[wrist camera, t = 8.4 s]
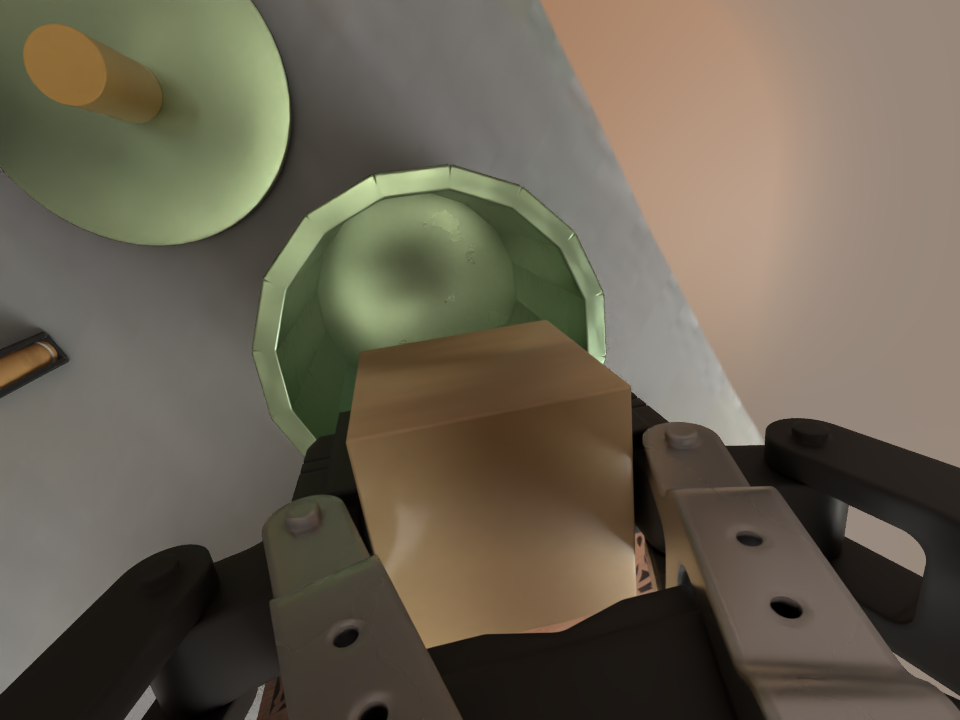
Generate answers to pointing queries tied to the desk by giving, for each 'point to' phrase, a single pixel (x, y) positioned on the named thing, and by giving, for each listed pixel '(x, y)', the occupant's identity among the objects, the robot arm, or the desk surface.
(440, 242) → the canister
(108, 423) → the desk surface
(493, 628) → the block
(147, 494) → the desk surface
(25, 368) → the ammunition clip
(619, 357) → the desk surface
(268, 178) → the lid
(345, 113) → the desk surface
